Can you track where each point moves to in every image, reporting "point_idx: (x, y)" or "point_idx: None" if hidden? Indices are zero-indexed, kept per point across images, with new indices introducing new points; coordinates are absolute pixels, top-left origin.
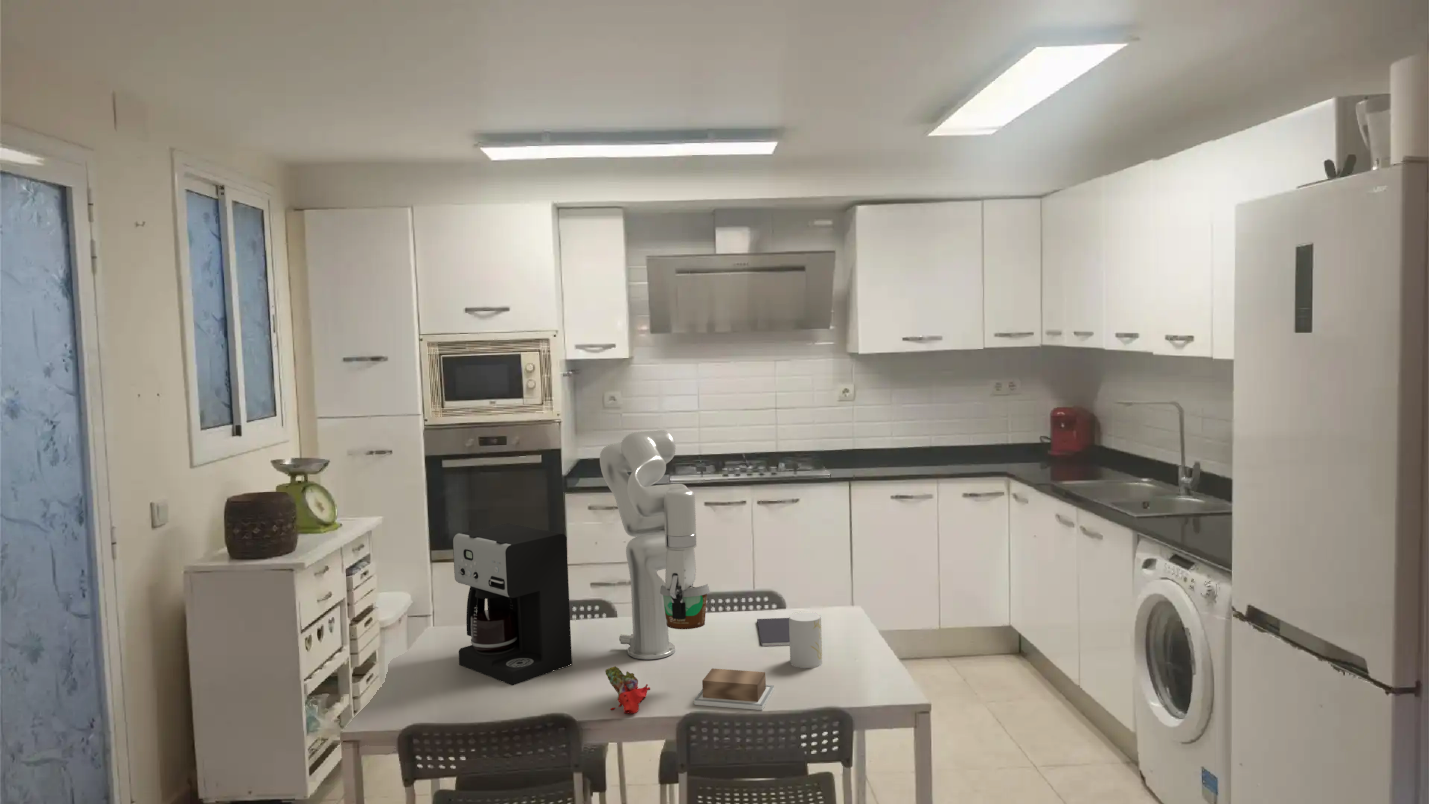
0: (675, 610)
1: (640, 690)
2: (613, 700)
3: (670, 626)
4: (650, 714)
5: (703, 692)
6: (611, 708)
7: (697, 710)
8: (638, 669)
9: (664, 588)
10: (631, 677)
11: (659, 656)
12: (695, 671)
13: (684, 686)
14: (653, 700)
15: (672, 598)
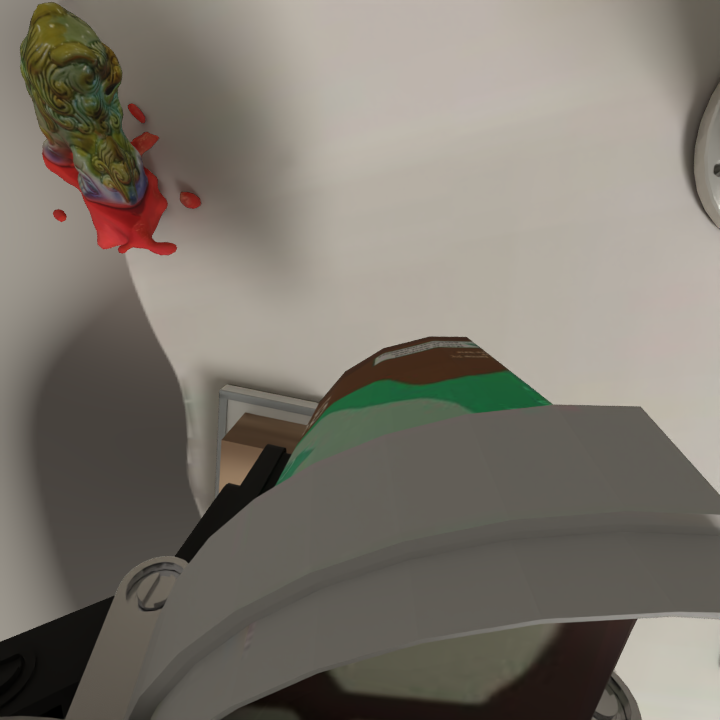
0: (207, 519)
1: (112, 224)
2: (221, 89)
3: (338, 380)
4: (134, 262)
5: (239, 421)
6: (129, 107)
7: (190, 395)
8: (570, 115)
9: (270, 624)
10: (107, 172)
11: (703, 193)
12: (515, 362)
13: (370, 340)
14: (242, 251)
15: (3, 648)
